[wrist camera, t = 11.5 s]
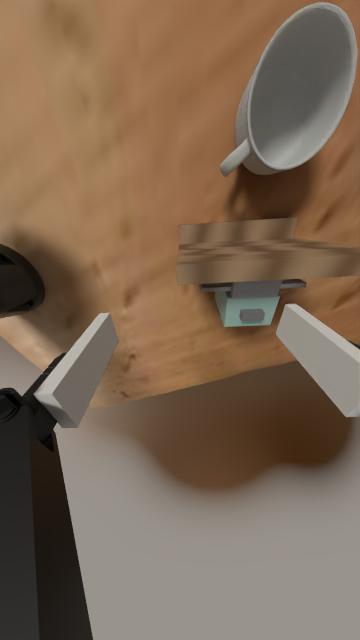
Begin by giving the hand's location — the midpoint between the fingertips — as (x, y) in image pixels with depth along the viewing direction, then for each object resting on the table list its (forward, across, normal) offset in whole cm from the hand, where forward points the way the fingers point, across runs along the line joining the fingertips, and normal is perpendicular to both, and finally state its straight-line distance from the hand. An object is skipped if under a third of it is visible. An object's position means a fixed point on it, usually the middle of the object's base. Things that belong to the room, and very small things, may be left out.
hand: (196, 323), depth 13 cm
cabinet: (+19, +9, -3) cm, 21 cm away
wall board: (+23, +9, +1) cm, 25 cm away
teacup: (+24, +11, +16) cm, 31 cm away
